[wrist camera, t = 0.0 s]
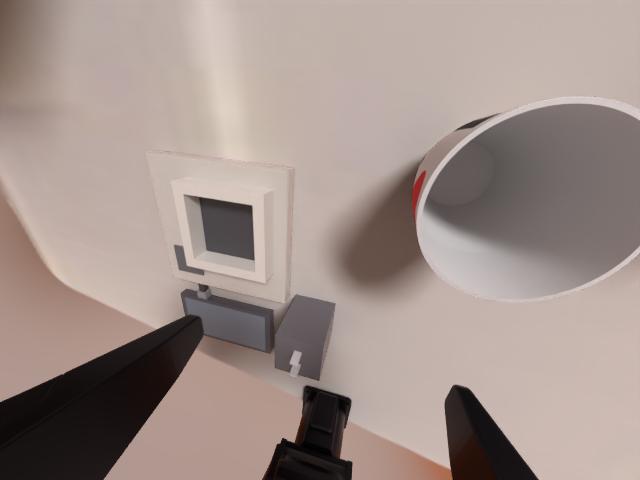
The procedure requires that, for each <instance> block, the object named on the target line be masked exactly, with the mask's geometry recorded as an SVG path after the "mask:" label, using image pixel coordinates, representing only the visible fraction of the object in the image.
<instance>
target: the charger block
mask: <svg viewBox="0 0 640 480" xmlns="http://www.w3.org/2000/svg"><path fill="white" fill-rule="evenodd" d="M335 304H336V303H331V302H327V301H322V300H318V299H314V298H309V297H305V296H300V295H296V296H295V298H294V300H293V302H292V304H291V306H290V308H289V309H288V311H287V313H286V315H285V317H284V319H283V321H282V323H281V325H280V326H279V328H278V330H277V332H276V334H275V368H277V369H280V370H283V371H287V372H290V374H289V376H291V377H294V378H297V376H298V375H301V376H304V377H308V378H311V379H315V380H318V381H319V380H320V376H321V372H322V368H323V364H324V360H325V356H326V352H327V348H328V344H329V340H330V336H331V332H332V325H333V318H334V311H335Z"/></svg>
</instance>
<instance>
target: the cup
mask: <svg viewBox="0 0 640 480" xmlns="http://www.w3.org/2000/svg"><path fill="white" fill-rule="evenodd" d="M412 208H413V214H414V220H415V225H416V231H417V237H418V242H419V245H420V248H421V251H422V254H423V256H424V258H425V259H426V261H427V263H428V264H429V266H430V267H431V268H432V270H433V271H434V272H435V273H436V274H437V275H438V276H439V277H440V278H441V279H443V280H444V281H445V282H446V283H448V284H449V285H451V286H452V287H454V288H456V289H458V290H460V291H462V292H464V293H466V294H469V295H471V296H474V297H478V298H481V299H486V300H491V301H498V302H512V303H520V302H534V301H541V300H547V299H552V298H556V297H560V296H564V295H567V294H570V293H573V292H576V291H579V290H582V289H584V288H586V287H589V286H591V285H593V284H595V283H597V282H599V281H601V280H603V279H605V278H607V277H608V276H610V275H612V274H613V273H615V272H616V271H618V270H619V269H621V268H622V267H624V266H625V265H626V264H628V263H629V262H630V261H631V260H632V259H634V258H635V257H636V256H637V255H638V254H639V253H640V110H639V109H637V108H635V107H633V106H631V105H628V104H625V103H623V102H619V101H616V100H612V99H607V98H601V97H591V96H570V97H559V98H553V99H547V100H542V101H538V102H534V103H531V104H528V105H524V106H521V107H517V108H514V109H511V110H507V111H504V112H500V113H497V114H494V115H490V116H487V117H483V118H480V119H477V120H475V121H472V122H470V123H468V124H466V125H464V126H462V127H460V128H458V129H457V130H455V131H453V132H452V133H451V134H449V135H448V136H446V137H445V138H444V139H442V140H441V141H440V142H438V143H437V144H436V145H435V146H434V147H433V148H432V149H431V150H430V151H429V152H428V153H427V154H426V156H425V157H424V159H423V160H422V162H421V164H420V166H419V168H418V171H417V174H416V178H415V181H414V185H413V190H412Z"/></svg>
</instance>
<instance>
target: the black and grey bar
mask: <svg viewBox="0 0 640 480" xmlns="http://www.w3.org/2000/svg"><path fill="white" fill-rule="evenodd" d="M197 295H198V297H199V298H203V299H207V298H209V297H210V296H211V290H210V289H209V288H208V285H204V284H200V283H199V290H198V291H197Z"/></svg>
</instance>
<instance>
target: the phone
mask: <svg viewBox="0 0 640 480" xmlns="http://www.w3.org/2000/svg"><path fill="white" fill-rule="evenodd" d="M181 298H182V303H183V307H184V312H185V316H187V315H189V314H193V315H197V316H200V317H201V318H202V323H203V329H204V335H205V336H209V337H212V338H216V339H220V340H223V341H227V342H230V343H234V344H237V345H241V346H245V347H248V348H252V349H255V350H259V351H262V352H266V353H271V351H272V349H273V310H271V309H267V308H263V307H259V306H254V305H250V304H246V303H242V302H238V301H234V300H230V299H226V298H222V297H218V296H214V295H211V296H210V297H209V298H207V299H203V298H199V297H198V295H197V291H193V290H189V289H186V290H184V291H183V292H182V293H181Z"/></svg>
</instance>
